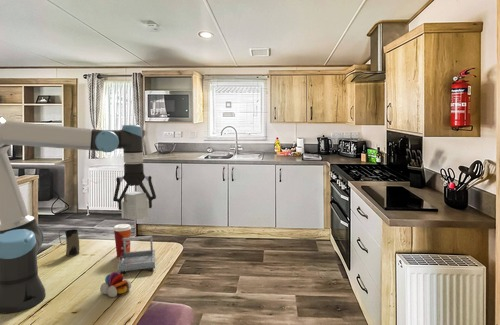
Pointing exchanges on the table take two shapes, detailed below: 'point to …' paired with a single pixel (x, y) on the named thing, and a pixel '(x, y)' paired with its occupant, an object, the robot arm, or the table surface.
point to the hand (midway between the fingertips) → (135, 216)
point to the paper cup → (120, 233)
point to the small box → (135, 205)
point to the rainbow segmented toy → (115, 284)
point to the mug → (71, 242)
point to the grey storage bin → (137, 257)
